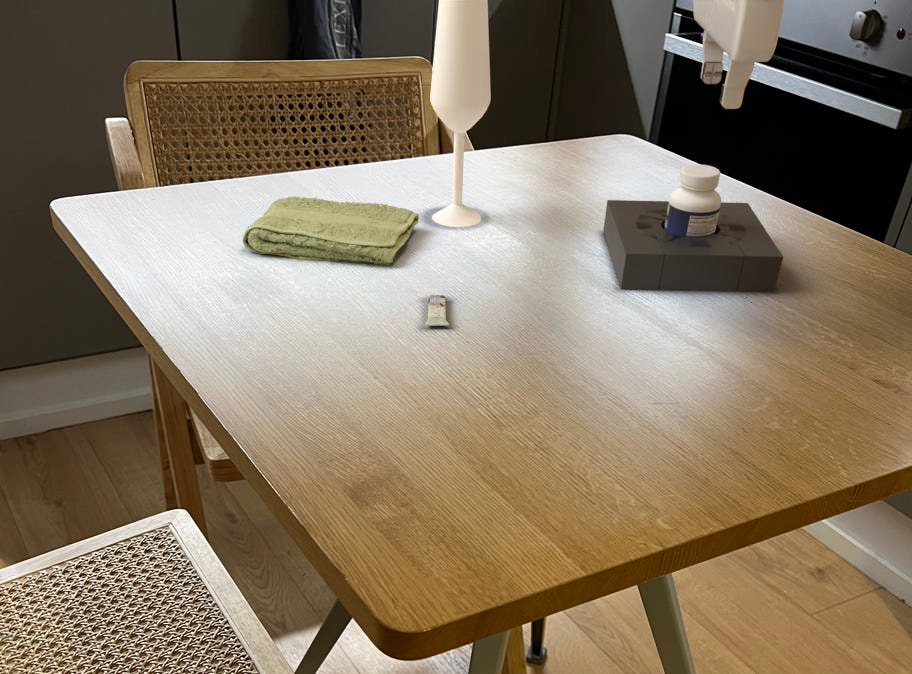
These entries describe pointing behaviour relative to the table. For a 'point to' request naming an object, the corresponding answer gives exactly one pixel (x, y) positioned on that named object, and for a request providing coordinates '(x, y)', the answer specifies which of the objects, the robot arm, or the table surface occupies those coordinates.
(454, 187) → the champagne flute
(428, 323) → the granola bar
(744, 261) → the block
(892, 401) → the table surface
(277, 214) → the washcloth
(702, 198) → the pill bottle
